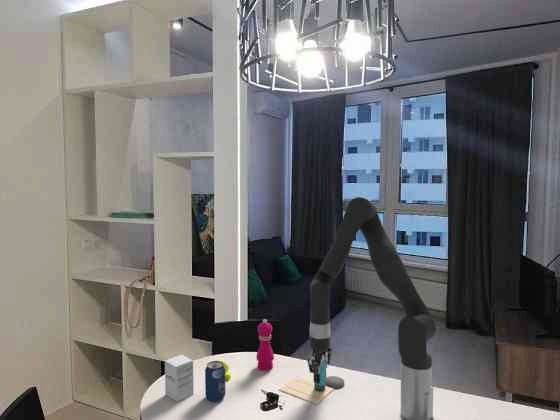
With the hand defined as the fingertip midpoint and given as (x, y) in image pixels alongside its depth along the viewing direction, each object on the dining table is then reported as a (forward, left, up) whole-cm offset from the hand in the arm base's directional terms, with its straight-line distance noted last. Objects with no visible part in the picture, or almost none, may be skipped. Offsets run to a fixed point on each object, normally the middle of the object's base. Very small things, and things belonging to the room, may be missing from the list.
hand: (320, 379), depth 139 cm
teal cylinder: (0, 0, -3) cm, 3 cm away
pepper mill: (+27, -2, -4) cm, 27 cm away
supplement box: (+39, +32, -4) cm, 51 cm away
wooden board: (+4, +3, -4) cm, 6 cm away
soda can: (+27, +26, -4) cm, 38 cm away
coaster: (-2, -7, -4) cm, 8 cm away
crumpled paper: (+36, +15, -4) cm, 39 cm away
